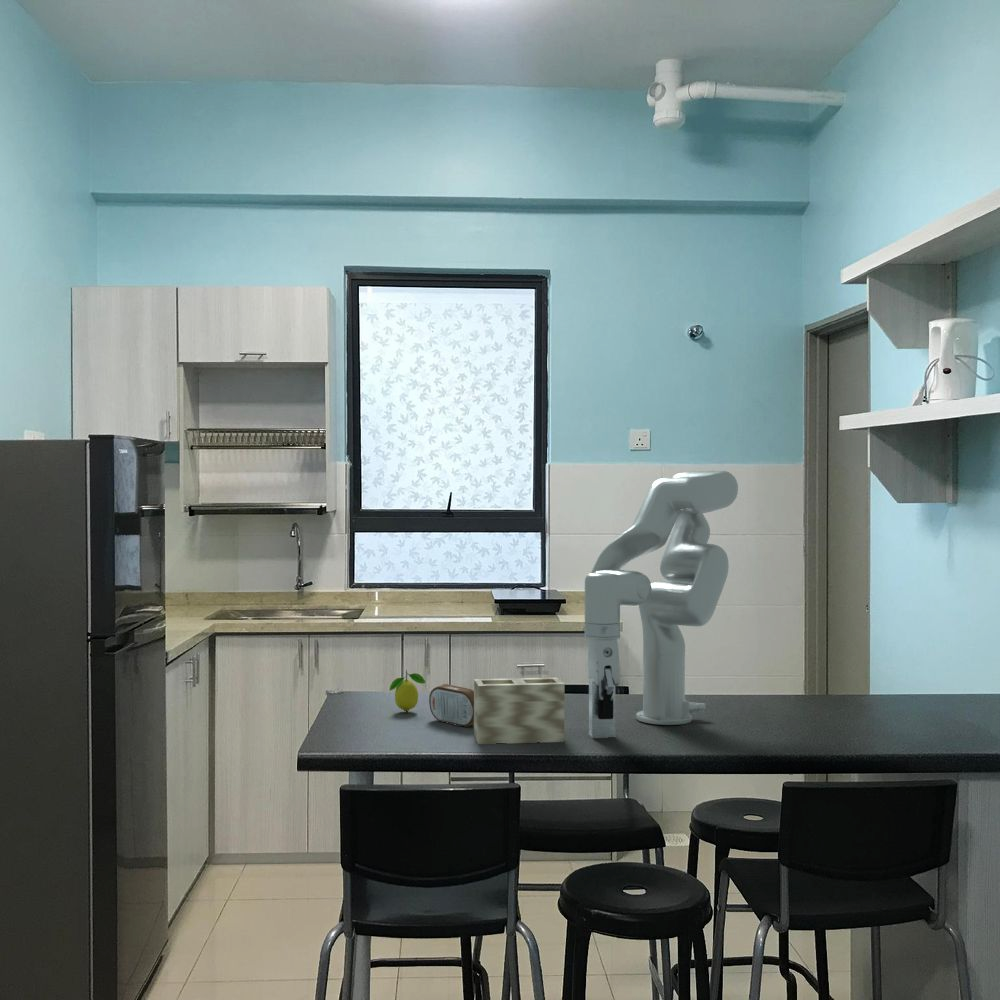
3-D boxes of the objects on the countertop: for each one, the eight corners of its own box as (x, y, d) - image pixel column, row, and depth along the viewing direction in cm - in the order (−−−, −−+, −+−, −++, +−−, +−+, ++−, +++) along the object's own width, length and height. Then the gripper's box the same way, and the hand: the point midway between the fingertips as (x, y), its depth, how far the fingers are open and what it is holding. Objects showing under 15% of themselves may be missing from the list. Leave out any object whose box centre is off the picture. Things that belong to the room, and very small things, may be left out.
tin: (483, 728, 221) (483, 689, 221) (473, 730, 219) (473, 691, 219) (436, 718, 231) (436, 681, 231) (426, 720, 229) (426, 683, 229)
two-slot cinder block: (556, 733, 216) (556, 677, 216) (564, 741, 208) (564, 684, 208) (473, 735, 214) (474, 679, 214) (478, 744, 206) (478, 685, 206)
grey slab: (611, 734, 215) (611, 678, 215) (615, 737, 212) (615, 680, 212) (588, 734, 215) (589, 678, 215) (592, 738, 212) (592, 681, 212)
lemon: (425, 711, 239) (425, 669, 239) (412, 715, 233) (412, 672, 233) (401, 708, 242) (402, 667, 242) (388, 713, 236) (388, 670, 237)
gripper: (630, 635, 206) (629, 724, 205) (609, 625, 223) (609, 707, 222) (594, 636, 204) (594, 725, 204) (576, 626, 221) (576, 708, 221)
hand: (601, 714), depth 213 cm, fingers open, 5 cm apart
